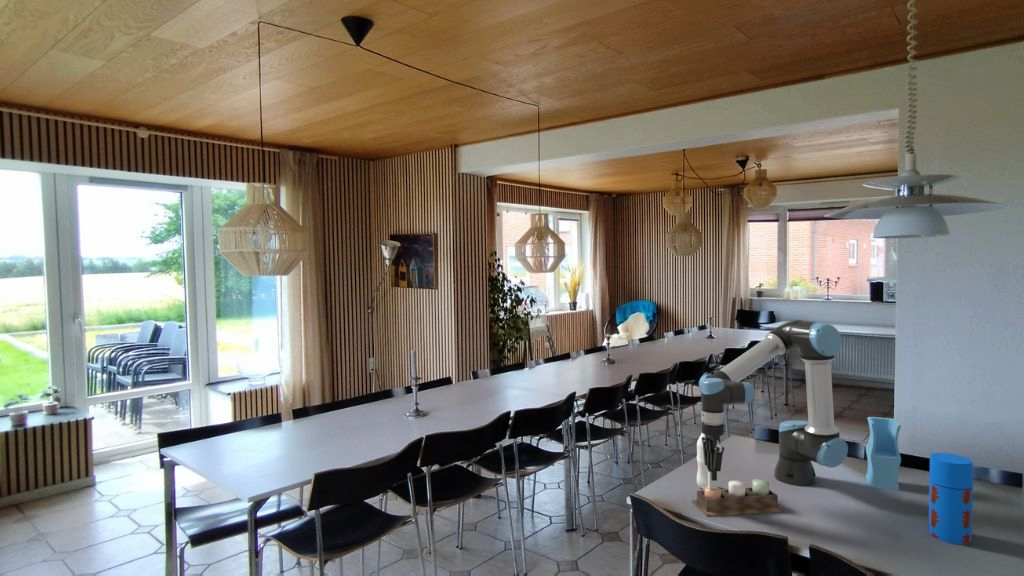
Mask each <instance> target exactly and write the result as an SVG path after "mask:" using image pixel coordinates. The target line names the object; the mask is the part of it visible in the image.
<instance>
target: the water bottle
mask: <svg viewBox="0 0 1024 576" xmlns="http://www.w3.org/2000/svg"><path fill="white" fill-rule="evenodd" d="M702 437H705V434H703V433H702V432H701V434H700V436H699V438H698V439H697V441H696V461H697V473H696V484H697V486H698V487H699V489H701V488H702V489H701V490H705V487H706V486H708V469H707V465H705V462H704V452H703V443H702Z"/></svg>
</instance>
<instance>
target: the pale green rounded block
mask: <svg viewBox="0 0 1024 576" xmlns="http://www.w3.org/2000/svg"><path fill="white" fill-rule="evenodd" d="M751 482H752V485H751V486H752V492H753V493H754V494H755V495H757V496H762V495H769V490H770V482H769V481H768V480H765V479H760V478H759V479H758V478H757V479H756V478H755V479H752V480H751Z"/></svg>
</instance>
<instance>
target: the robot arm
mask: <svg viewBox="0 0 1024 576" xmlns="http://www.w3.org/2000/svg"><path fill="white" fill-rule="evenodd" d="M842 345H843V343H842V337H841V334H840V332H839V330H838V329H837V328H836V327H835V326H833V325H832V324H829V323H825V322H822V321H821V322H820V321H812V320H811V321H809V320H800V319H797V320H791V321H790V320H789V321H787V322H785V323H783V324H781V325H779V326H777V327H775V328H774V329H772V330H771V331H769V332H767V333H766V334H765V336H764V339H762V340H760V341H759V342H758V343H756V344H755V345H753V346H752V347H751V348H750V349H748V350H746V351H745V352H744V353H742V354H741V355H740V356H738V357H737V358H735V359H734V360H732V361H731V362H730V363H727V364H726V365H725V366H724V367H722V368H721V369H719V370H718V371H716V372H714V373H713V374H703V375H702V376H701V377H700V379H699V381H698V387H699V390H700V393H701V394H700V395H701V399H700V400H701V413H700V417H701V421H702V422H701V426H700V427H701V428H700V429H701V434H702V433H703V434H705V437H702V443H703V452H704V462H705V465H707V469H708V488H709V489H717V487H718V472H721V471H722V462H723V454H724V452H725V447H724V446H721V436H723V435H724V434H725V433H724V432H725V424H724V423H725V406H729V405H730V406H731V405H732V406H733V405H744V404H748V403H751V402H753V401H754V399H755V398H756V397H755V396H756V395H755V388H754V386H753V385H752V384H751V383H750V382H747V381H742V380H744V379H745V378H746V377H748V376H749V375H751V374H752V373H754V372H755V371H756V370H758V369H759V368H761V367H762V366H764V365H766V363H768V362H770V361H771V360H772V359H773V358H775V357H776V356H777V355H781V356H782V355H784V354H785V353H787V352H790V351H799V359H801V361H803V363H804V372H805V386H806V387H805V389H806V390H805V391H806V403H807V418H808V419H807V420H808V421H806V420H786V421H782V422H781V423H780V424H779V427H778V428H779V429H778V460H777V463H776V465H775V468H774V470H773V471H774V472H773V473H774V474H773V475H774V478H775V479H776V480H778V481H780V482H783V483H786V484H789V485H796V486H811V485H814V484H816V483H817V474H816V472H815V468H814V465H813V463H816V464H818V465H819V466H822V467H827V468H829V469H830V468H836V467H839V466H840V465H841V464H842V463H844V461H845V460H846V458H847V456H848V451H849V447H848V444H847V442H846V441H845V440H844V438H841V437H840V429H839V427H837V426H836V425H835V416H834V415H835V413H834V411H835V410H834V399H833V398H834V396H833V381H832V378H833V377H832V366H831V363H832V362H833V361H834V360H835V359H836V356H835V355H837V354H838V353H839V352H840V349H841V347H842Z"/></svg>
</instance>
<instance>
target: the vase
mask: <svg viewBox="0 0 1024 576" xmlns="http://www.w3.org/2000/svg"><path fill="white" fill-rule="evenodd" d="M866 418H867V421H868V422H867V423H868V426H869V438H868V441H867V443H866V447H865V453H866V458H867V459H866V460H867V471H866V475H865V480H866V482H867V483H868V485H869V486H870V487H872V488H877V489H886V490H892V491H893V490H895V491H898V490H900V485H899V476H898V475H899V469H900V466H901V463H902V457H901V454H900V450H899V445H898V439H899V433H900V430H901V428H902V424H901V423H900V422H899V420H897V419H895V418H891V417H877V416H868V417H866Z"/></svg>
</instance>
